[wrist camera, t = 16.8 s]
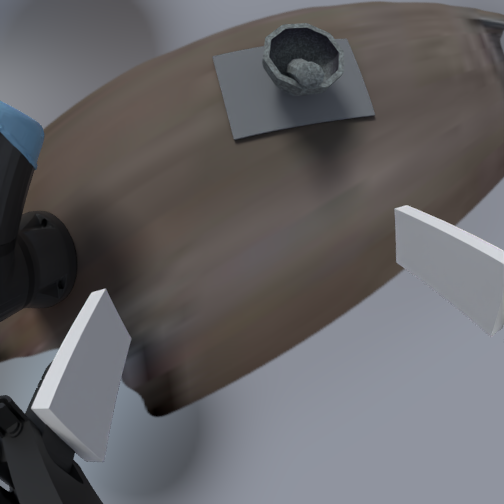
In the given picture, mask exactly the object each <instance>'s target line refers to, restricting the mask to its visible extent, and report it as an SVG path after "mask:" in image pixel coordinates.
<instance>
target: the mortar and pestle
mask: <svg viewBox="0 0 504 504" xmlns="http://www.w3.org/2000/svg"><path fill="white" fill-rule="evenodd" d="M262 64H263V68H264V69H265V71H266V72H267V74H268V75H269V77H270V78H271V80H272V81H273V83H274V84H275V86H277V87H279V88H280V90H282V91H284V92H286V93H289V94H291V95H293V96H301V95H311V94H321V93H323V92H324V91H326V90H327V89H328V88H329V87H330V86H331V85H332V84H333V83H334V82H335V81H337V80H338V79H339V78H340V77H341V76H342V74H343V73H344V51H343V50H342V48H341V47H340V46H339V44H338V43H337V42H336V40H335V39H334V38H333V37H332V35H331V34H330V33H328V32H326V31H323V30H321V29H319V28H317V27H314V26H312V25H310V24H307V23H304V24H286V25H282V26H280V27H279V28H278V29H276V30H275V31H274V32H272V33H271V34H270V35H268V36H267V37H266V38H265V45H264V52H263V60H262Z"/></svg>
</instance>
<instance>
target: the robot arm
mask: <svg viewBox="0 0 504 504" xmlns="http://www.w3.org/2000/svg"><path fill="white" fill-rule="evenodd" d="M43 141H44V131H43V128H42V126H41V125H40V124H39V123H38V122H37V121H35V120H34V119H32V118H31V117H29V116H28V115H26V114H24V113H22V112H21V111H19V110H17V109H15V108H13V107H12V106H10V105H8V104H6V103H3V102H2V101H0V322H1V321H3V320H4V319H6V318H8V317H10V316H11V315H13V314H15V313H16V312H18V311H20V310H22V309H23V308H46V307H50V306H53V305H55V304H57V303H58V302H60V301H62V300H63V299H65V298H66V297H67V296H68V294H69V293H70V291H71V289H72V287H73V285H74V282H75V278H76V270H77V261H76V253H75V248H74V244H73V241H72V239H71V236H70V234H69V232H68V230H67V229H66V227H65V226H64V224H63V223H62V222H61V221H60V220H59V219H58V218H57V217H56V216H54V215H53V214H51V213H48V212H45V211H33V212H28V213H25V214H22V212H23V208H24V204H25V201H26V197H27V193H28V190H29V186H30V183H31V180H32V176H33V173H34V170H36V169H37V160H38V157H39V153H40V150H41V147H42V144H43ZM395 228H396V262H397V263H398V264H399V265H401V266H402V267H403V268H405V269H406V270H408V271H409V272H410V273H412V274H413V275H414V276H416V277H417V278H418V279H420V280H421V281H422V282H424V283H425V284H426V285H427V286H429V287H430V288H431V289H433V290H434V291H435V292H436V293H438V294H439V295H440V296H442V297H443V298H444V299H445V300H447V301H448V302H449V303H450V304H452V305H453V306H454V307H455V308H457V309H458V310H459V311H460V312H462V313H463V314H464V315H465V316H466V317H467V318H469V319H470V320H471V321H472V322H474V323H475V324H476V325H477V326H478V327H479V328H480V329H482V330H483V331H484V332H485V333H486V334H487V335H489V336H490V337H492V336H493V335H494V334H496V333H497V332H498V331H499V330H501V329H502V328H503V325H504V251H503V250H501V249H500V248H498V247H496V246H494V245H491V244H490V243H488V242H486V241H484V240H482V239H480V238H478V237H476V236H474V235H472V234H470V233H468V232H466V231H464V230H462V229H460V228H458V227H456V226H453V225H451V224H449V223H447V222H445V221H443V220H440V219H438V218H436V217H434V216H431V215H429V214H427V213H424V212H422V211H420V210H417V209H415V208H412V207H410V206H408V205H406V206H402V207H399V208H395ZM130 342H131V337H130V335H129V333H128V331H127V330H126V328H125V326H124V324H123V322H122V320H121V318H120V316H119V314H118V312H117V310H116V308H115V306H114V304H113V302H112V300H111V298H110V296H109V294H108V292H107V290H106V289H102V290H98V291H95V292H92V293H91V294H90V296H89V298H88V299H87V301H86V302H85V304H84V306H83V307H82V309H81V311H80V313H79V314H78V316H77V318H76V319H75V321H74V323H73V325H72V326H71V328H70V330H69V332H68V334H67V335H66V337H65V339H64V341H63V343H62V345H61V347H60V348H59V350H58V352H57V354H56V356H55V358H54V360H53V361H52V362H51V363H50V365H49V366H48V367H47V368H46V370H45V372H44V374H43V376H42V380H40V382H39V384H38V388H36V390H35V393H34V395H33V397H32V399H31V402H30V404H29V406H28V408H27V411H26V413H25V414H24V413H23V411H22V410H21V409H20V408H19V407H18V406H17V405H16V404H15V402H14V401H13V400H12V399H11V398H10V397H9V396H7V395H3V396H0V479H1V480H2V481H3V482H5V483H6V484H7V485H9V487H10V491H7V490H5V489H4V488H2V487H1V486H0V504H103V503H102V501H101V500H100V498H99V497H98V496H97V494H96V492H95V491H94V489H93V488H92V486H91V485H90V483H89V481H88V480H87V478H86V476H85V475H84V473H83V471H82V470H81V468H80V466H79V465H78V464H77V463H76V462H75V461H74V460H73V458H74V453H76V454H78V455H79V456H80V457H81V458H82V459H84V460H85V461H87V462H88V461H89V462H104V460H105V454H106V448H107V441H108V437H109V431H110V426H111V421H112V416H113V412H114V407H115V402H116V398H117V393H118V389H119V385H120V381H121V377H122V372H123V368H124V365H125V361H126V357H127V353H128V349H129V346H130Z"/></svg>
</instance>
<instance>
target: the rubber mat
mask: <svg viewBox="0 0 504 504" xmlns="http://www.w3.org/2000/svg"><path fill="white" fill-rule="evenodd" d="M335 40H336V42H337V43H338V44H339V46H340V47H341V48H342V50H343V51H344V73H343V74H342V76H341V77H340V78H339V79H338V80H337V81H335V82H334V83H333V84H332V85H331V86H330V87H329V88H328V89H327V90H326V91H324V92H323V93H321V94H311V95H301V96H293V95H291V94H289V93H286V92H284V91H282V90H280V88H279V87H277V86H275V84H274V83H273V81H272V80H271V78H270V77H269V75H268V74H267V72H266V71H265V69H264V68H263V64H262V60H263V52H264V46H262V47H256V48H251V49H245V50H240V51H235V52H230V53H226V54H221V55H217V56H213V61H214V65H215V69H216V72H217V76H218V80H219V84H220V88H221V91H222V95H223V99H224V103H225V107H226V111H227V114H228V118H229V122H230V126H231V130H232V134H233V138H234V140H237V139H241V138H246V137H250V136H254V135H259V134H263V133H268V132H273V131H278V130H283V129H288V128H293V127H299V126H304V125H310V124H316V123H323V122H329V121H336V120H343V119H351V118H359V117H368V116H374V115H375V113H374V109H373V106H372V103H371V100H370V97H369V94H368V92H367V89H366V86H365V83H364V80H363V78H362V75H361V72H360V70H359V67H358V65H357V62H356V60H355V57H354V55H353V52H352V50H351V48H350V45H349V43H348V41H347V39H335Z"/></svg>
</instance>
